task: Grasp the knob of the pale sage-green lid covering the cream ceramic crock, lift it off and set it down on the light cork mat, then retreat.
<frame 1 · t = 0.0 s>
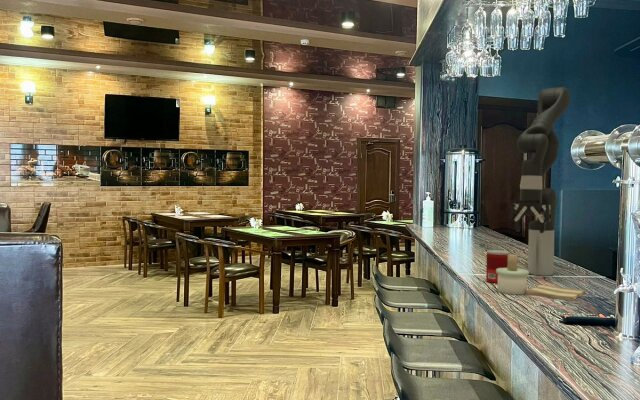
hand: (529, 232, 203), 17 cm above the bar counter, tool pointing down, fingers open, 8 cm apart
canned food: (497, 282, 197), on the bar counter
crock: (511, 291, 181), on the bar counter
mat: (555, 293, 177), on the bar counter
lid: (512, 273, 180), point 6 cm above the bar counter, touching crock
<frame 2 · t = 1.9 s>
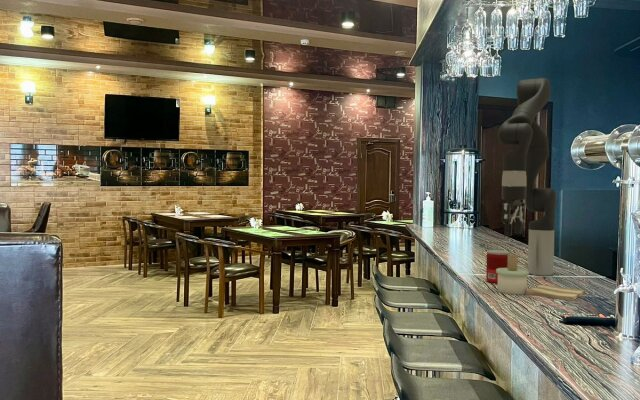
hand: (513, 234, 180), 19 cm above the bar counter, tool pointing down, fingers open, 8 cm apart
nothing on the bar counter moved.
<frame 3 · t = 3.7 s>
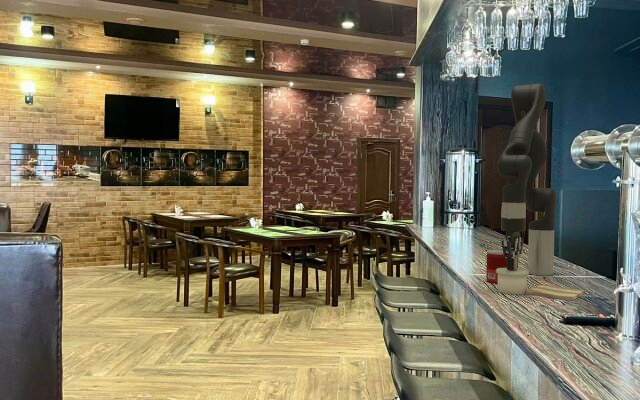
hand: (512, 268, 180), 7 cm above the bar counter, tool pointing down, fingers closed on lid, 3 cm apart
lid: (512, 273, 180), point 6 cm above the bar counter, touching crock, gripper
everything else where it was.
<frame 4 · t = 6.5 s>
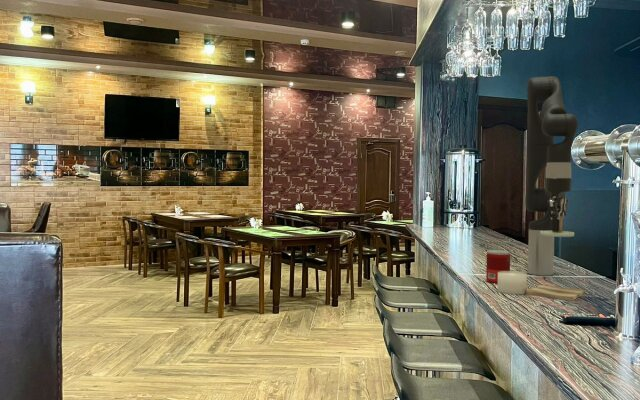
hand: (557, 230, 177), 20 cm above the bar counter, tool pointing down, fingers closed on lid, 3 cm apart
lid: (557, 235, 177), point 19 cm above the bar counter, touching gripper
everything else where it was.
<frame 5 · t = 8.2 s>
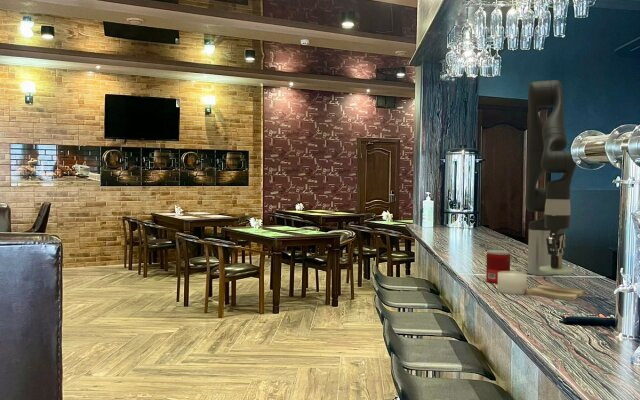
hand: (556, 266, 177), 9 cm above the bar counter, tool pointing down, fingers closed on lid, 3 cm apart
lid: (556, 271, 177), point 7 cm above the bar counter, touching gripper
everything else where it was.
when the fingers open (4 cm above the bar counter, at t = 9.6 s): lid drops 1 cm, resting on mat.
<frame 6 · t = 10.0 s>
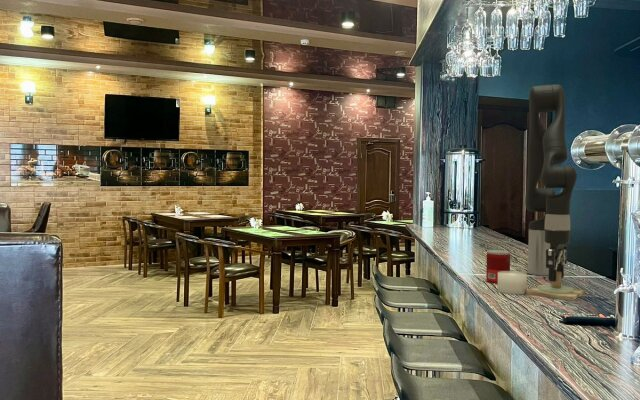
hand: (556, 279, 177), 5 cm above the bar counter, tool pointing down, fingers open, 7 cm apart
lid: (555, 290, 177), point 1 cm above the bar counter, touching mat
everything else where it was.
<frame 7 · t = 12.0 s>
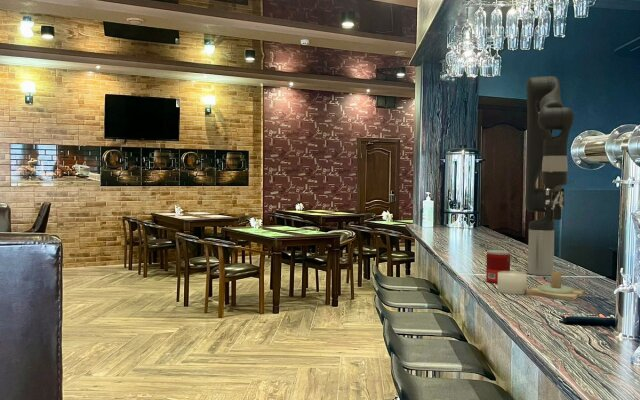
hand: (553, 220, 178), 23 cm above the bar counter, tool pointing down, fingers open, 8 cm apart
nothing on the bar counter moved.
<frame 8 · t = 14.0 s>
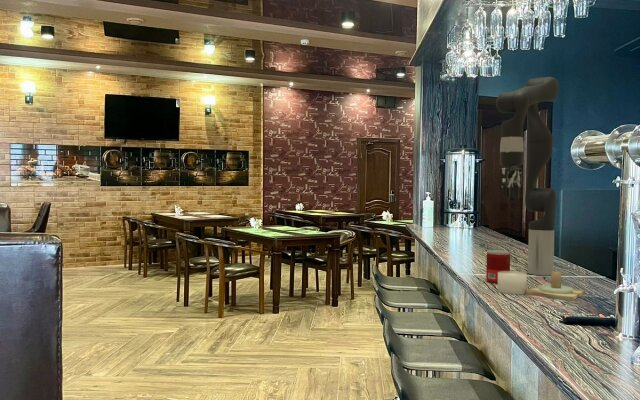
hand: (510, 198, 188), 30 cm above the bar counter, tool pointing down, fingers open, 8 cm apart
nothing on the bar counter moved.
at the end: lid inside the target area on the mat (0.1 cm from its centre), point 1.0 cm above the mat's base; lid touching mat; the gripper is holding nothing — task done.
